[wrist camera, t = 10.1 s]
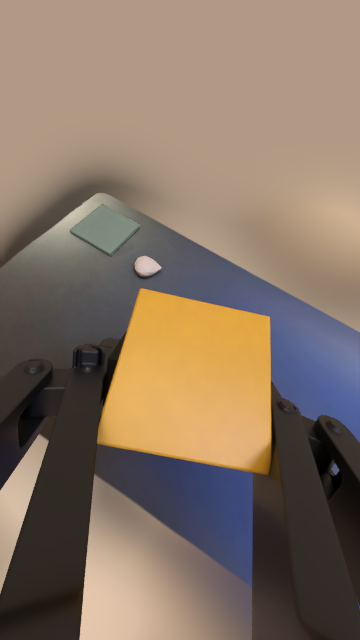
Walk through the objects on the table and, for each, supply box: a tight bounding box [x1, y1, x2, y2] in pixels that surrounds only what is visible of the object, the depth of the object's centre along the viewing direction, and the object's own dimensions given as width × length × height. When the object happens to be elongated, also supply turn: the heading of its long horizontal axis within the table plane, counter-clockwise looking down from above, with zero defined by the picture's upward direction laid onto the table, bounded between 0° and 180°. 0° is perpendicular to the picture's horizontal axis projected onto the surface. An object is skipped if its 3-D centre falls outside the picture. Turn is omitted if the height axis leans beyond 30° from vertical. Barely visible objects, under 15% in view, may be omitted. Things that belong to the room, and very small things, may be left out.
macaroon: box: [135, 256, 161, 277], centre depth 40 cm, size 4×5×2 cm
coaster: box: [70, 204, 140, 256], centre depth 44 cm, size 10×10×1 cm
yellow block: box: [97, 289, 272, 475], centre depth 13 cm, size 6×6×10 cm
